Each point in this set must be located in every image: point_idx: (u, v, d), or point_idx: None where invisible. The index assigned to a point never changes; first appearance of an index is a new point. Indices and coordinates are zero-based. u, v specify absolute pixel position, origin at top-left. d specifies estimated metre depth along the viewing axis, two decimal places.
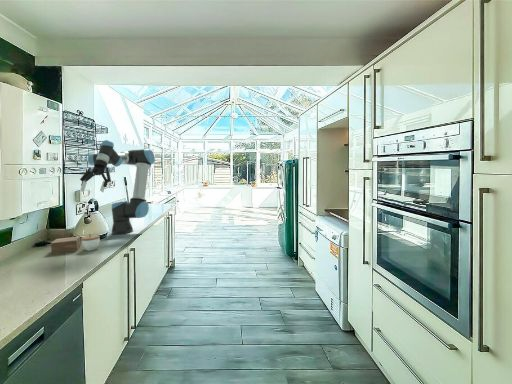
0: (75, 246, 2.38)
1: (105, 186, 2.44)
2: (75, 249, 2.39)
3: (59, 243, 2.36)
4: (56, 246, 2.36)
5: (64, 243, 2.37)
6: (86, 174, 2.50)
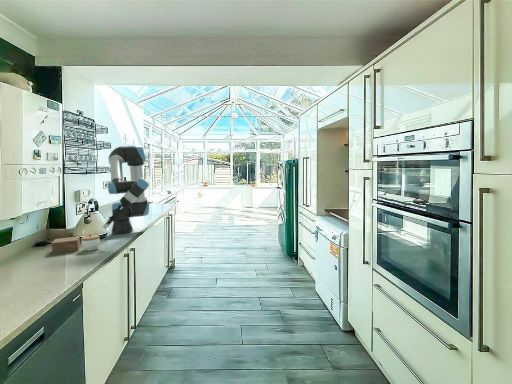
0: (76, 246, 2.39)
1: None
2: (76, 249, 2.39)
3: (60, 243, 2.36)
4: (57, 246, 2.36)
5: (65, 243, 2.37)
6: None
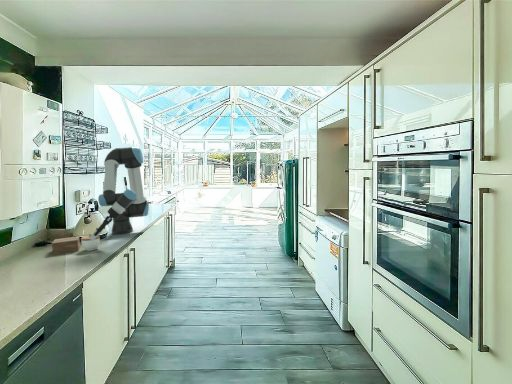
0: (76, 246, 2.39)
1: None
2: (76, 249, 2.39)
3: (60, 243, 2.36)
4: (58, 245, 2.36)
5: (65, 243, 2.37)
6: None
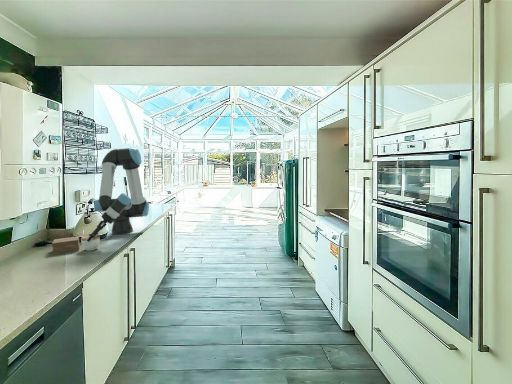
0: (77, 246, 2.39)
1: None
2: (77, 249, 2.40)
3: (61, 243, 2.36)
4: (58, 245, 2.36)
5: (66, 243, 2.37)
6: (98, 230, 2.36)
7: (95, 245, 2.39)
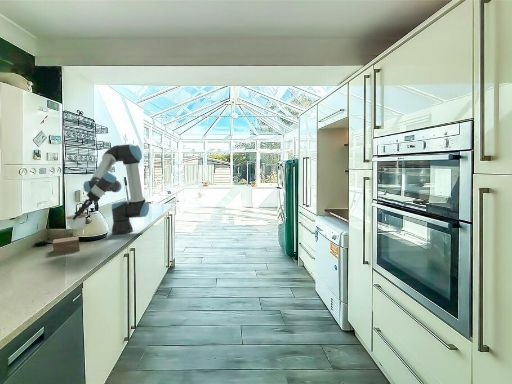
0: (78, 245, 2.40)
1: None
2: (78, 248, 2.40)
3: (61, 243, 2.36)
4: (59, 245, 2.36)
5: (66, 243, 2.37)
6: None
7: (81, 223, 2.38)
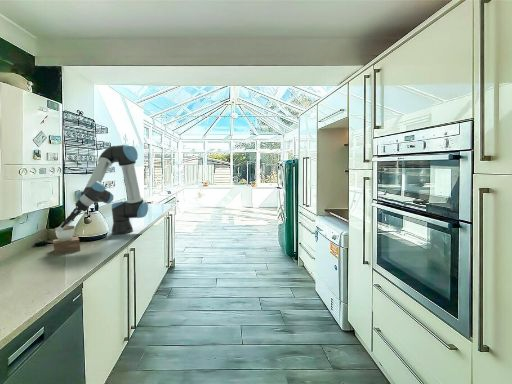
0: (78, 245, 2.40)
1: None
2: (78, 248, 2.40)
3: (62, 243, 2.36)
4: (59, 246, 2.36)
5: (67, 243, 2.37)
6: (72, 217, 2.37)
7: (69, 235, 2.40)
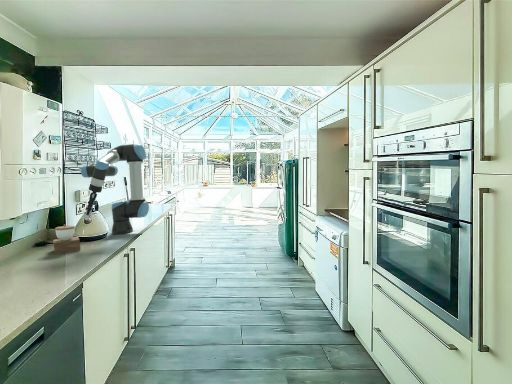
0: (78, 245, 2.40)
1: None
2: (78, 248, 2.40)
3: (62, 243, 2.36)
4: (60, 245, 2.36)
5: (67, 243, 2.37)
6: (92, 202, 2.42)
7: (69, 235, 2.40)
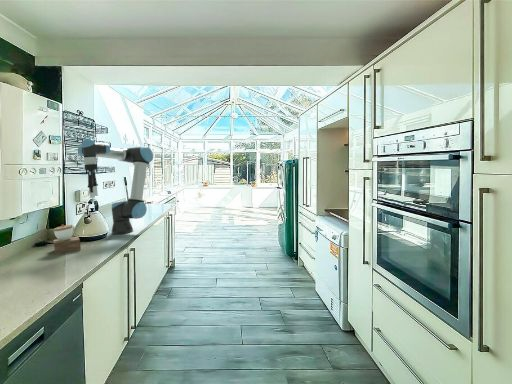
0: (79, 245, 2.41)
1: None
2: (79, 248, 2.41)
3: (63, 243, 2.36)
4: (60, 245, 2.36)
5: (68, 243, 2.38)
6: None
7: (66, 235, 2.39)
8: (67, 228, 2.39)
